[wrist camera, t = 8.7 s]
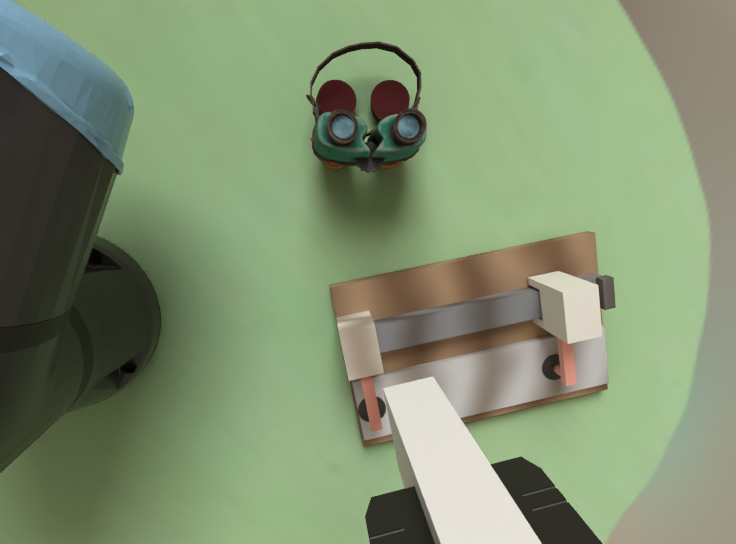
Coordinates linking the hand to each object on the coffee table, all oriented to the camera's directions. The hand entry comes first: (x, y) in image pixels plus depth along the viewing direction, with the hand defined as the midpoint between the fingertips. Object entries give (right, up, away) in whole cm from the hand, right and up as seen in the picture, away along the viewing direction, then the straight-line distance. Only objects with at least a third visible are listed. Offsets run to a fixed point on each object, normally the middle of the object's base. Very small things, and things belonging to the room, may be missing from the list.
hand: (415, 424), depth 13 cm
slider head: (+16, 0, +30) cm, 34 cm away
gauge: (+9, -2, +31) cm, 32 cm away
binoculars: (-2, +18, +26) cm, 32 cm away
